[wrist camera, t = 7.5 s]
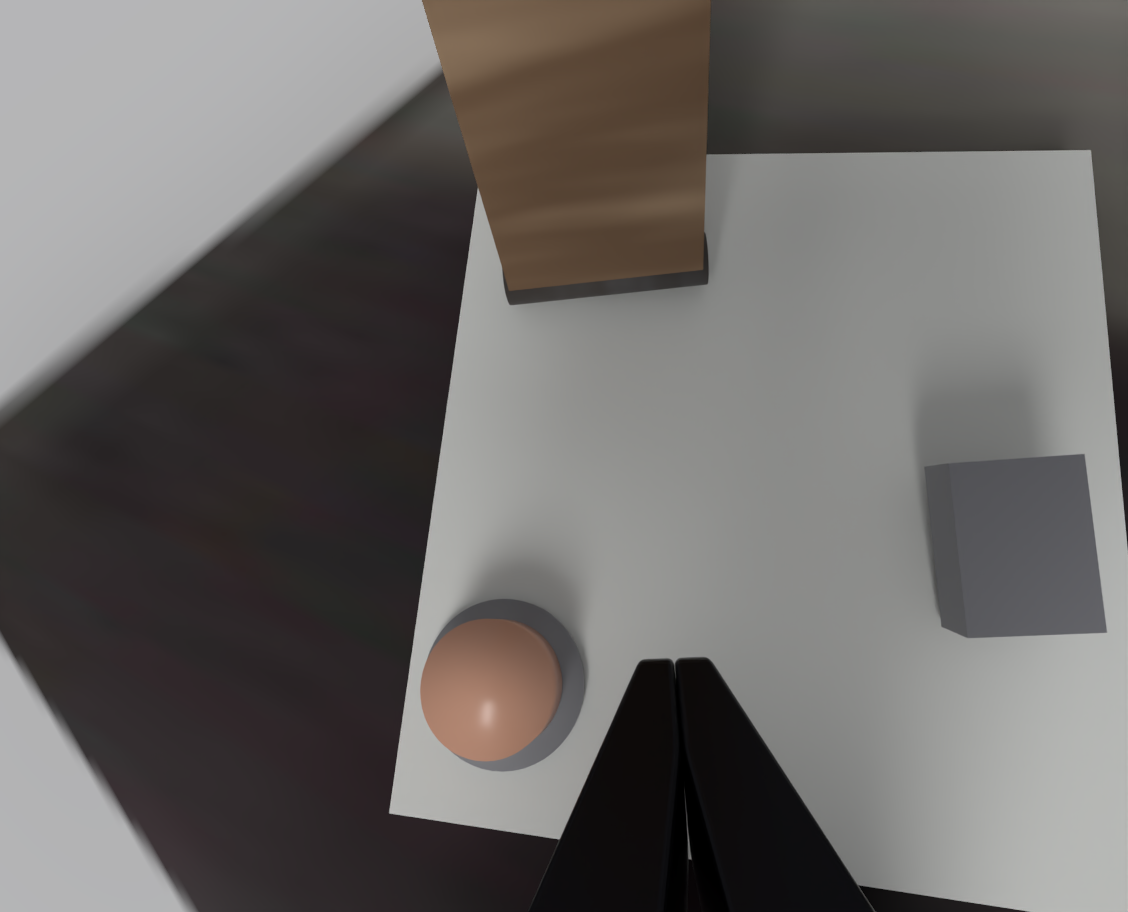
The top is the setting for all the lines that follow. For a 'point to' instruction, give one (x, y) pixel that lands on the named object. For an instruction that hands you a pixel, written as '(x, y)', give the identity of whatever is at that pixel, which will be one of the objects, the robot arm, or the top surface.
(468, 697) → the terracotta button
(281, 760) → the top surface
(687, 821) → the robot arm
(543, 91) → the walnut lever
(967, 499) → the grey rectangular block
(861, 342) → the control panel
